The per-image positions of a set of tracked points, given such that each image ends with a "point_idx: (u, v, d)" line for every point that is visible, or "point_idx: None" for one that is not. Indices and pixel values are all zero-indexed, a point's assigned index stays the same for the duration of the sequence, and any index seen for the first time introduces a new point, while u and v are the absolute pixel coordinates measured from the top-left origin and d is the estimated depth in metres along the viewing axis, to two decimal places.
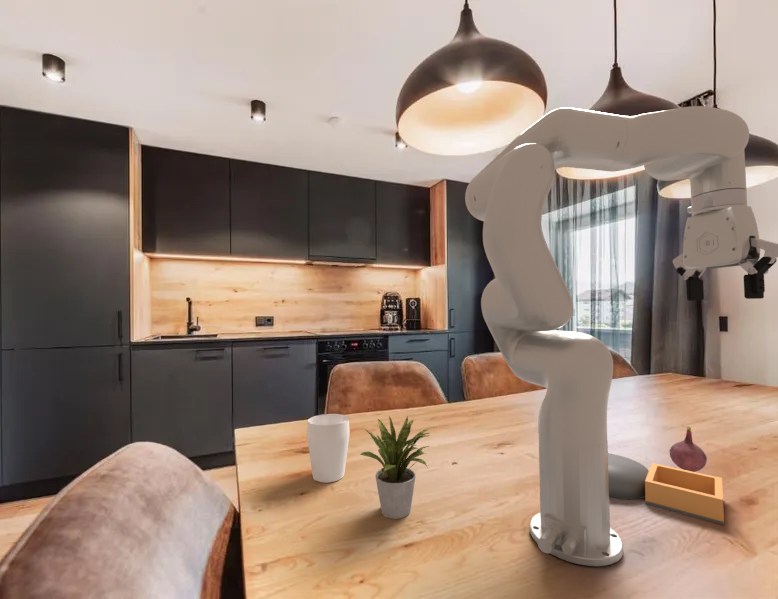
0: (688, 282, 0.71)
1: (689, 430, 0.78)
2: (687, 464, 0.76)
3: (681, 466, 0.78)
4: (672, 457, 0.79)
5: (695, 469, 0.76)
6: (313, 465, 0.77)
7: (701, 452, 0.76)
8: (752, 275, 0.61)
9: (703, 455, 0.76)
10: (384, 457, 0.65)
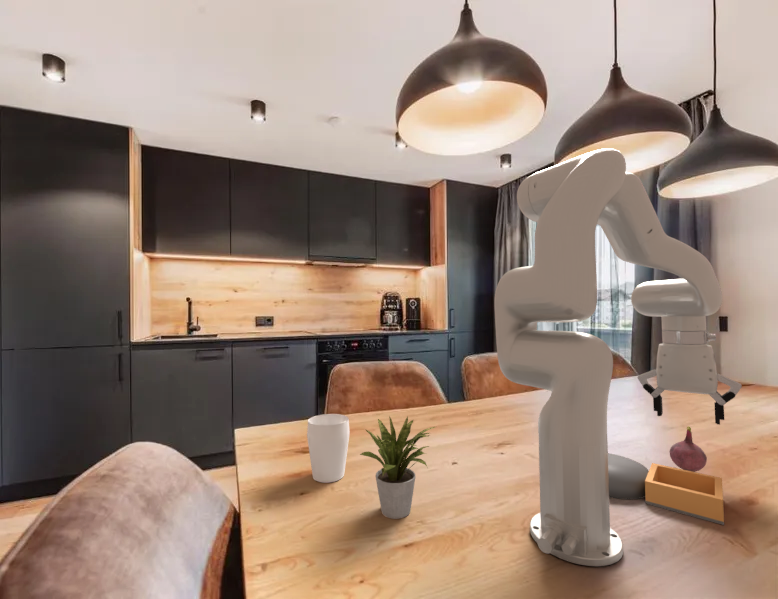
0: None
1: (689, 430, 0.78)
2: (687, 464, 0.76)
3: (681, 466, 0.78)
4: (672, 457, 0.79)
5: (695, 469, 0.76)
6: (313, 465, 0.77)
7: (701, 452, 0.76)
8: None
9: (703, 455, 0.76)
10: (384, 457, 0.65)
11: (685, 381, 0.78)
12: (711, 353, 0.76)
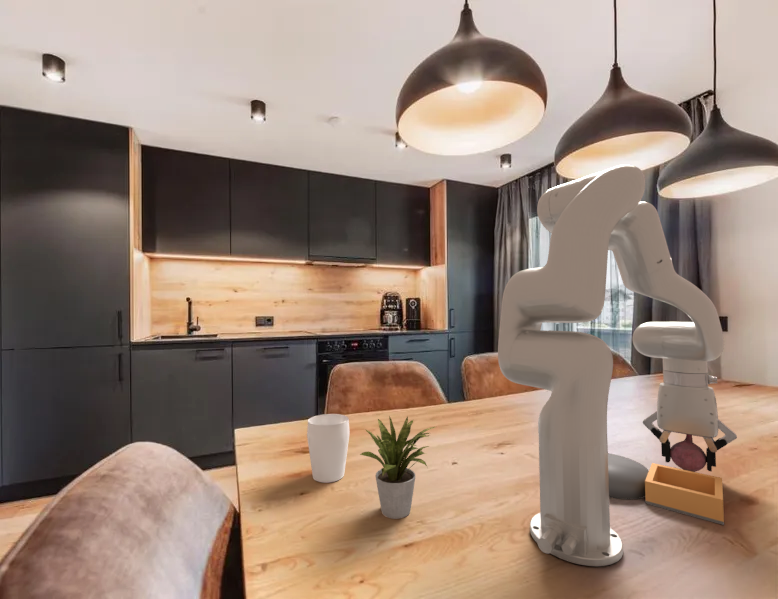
0: None
1: None
2: (688, 464, 0.76)
3: (681, 466, 0.78)
4: (672, 457, 0.79)
5: (695, 469, 0.76)
6: (313, 465, 0.77)
7: (701, 452, 0.76)
8: None
9: (703, 455, 0.76)
10: (384, 457, 0.65)
11: (686, 423, 0.77)
12: (712, 396, 0.75)
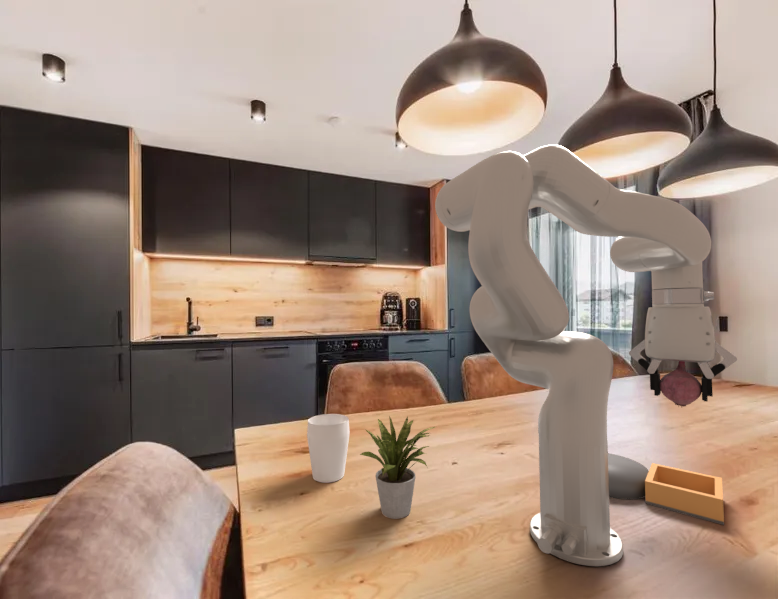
0: None
1: None
2: (680, 394, 0.66)
3: (672, 397, 0.67)
4: (662, 389, 0.68)
5: (688, 400, 0.66)
6: (313, 465, 0.77)
7: (696, 380, 0.66)
8: None
9: (698, 383, 0.65)
10: (384, 457, 0.65)
11: (678, 348, 0.66)
12: (708, 314, 0.64)
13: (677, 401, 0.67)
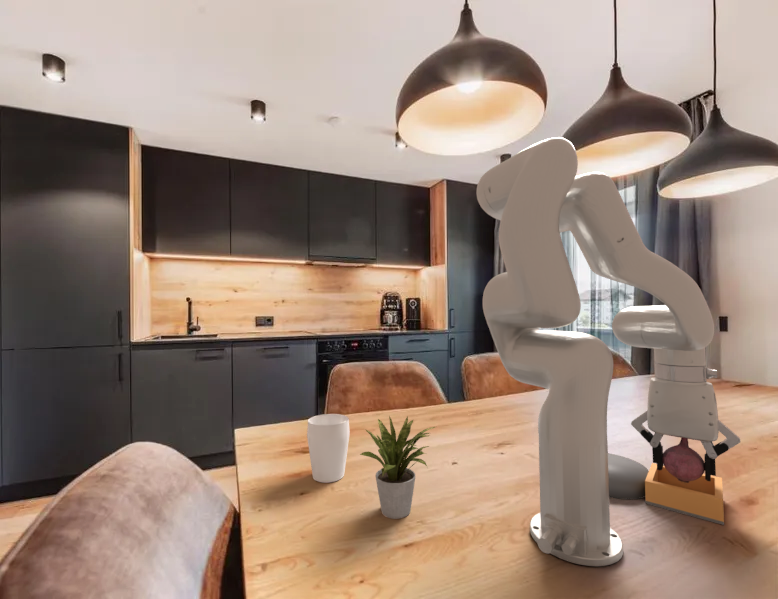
0: None
1: None
2: (683, 473, 0.65)
3: (675, 474, 0.66)
4: (665, 464, 0.68)
5: (691, 478, 0.65)
6: (313, 465, 0.77)
7: (699, 458, 0.65)
8: None
9: (701, 462, 0.65)
10: (384, 457, 0.65)
11: (681, 425, 0.66)
12: (711, 393, 0.64)
13: (680, 478, 0.66)
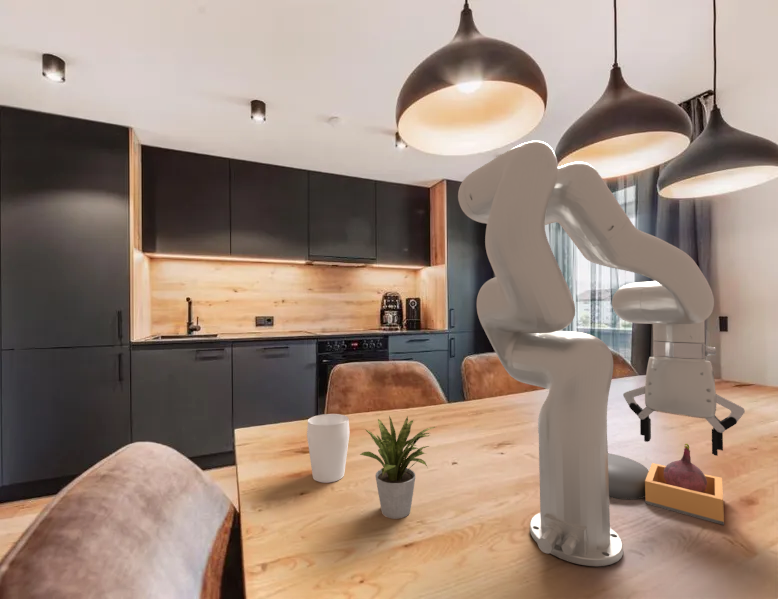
0: None
1: (687, 448, 0.67)
2: None
3: None
4: (666, 479, 0.68)
5: None
6: (313, 465, 0.77)
7: (701, 475, 0.65)
8: None
9: (703, 478, 0.65)
10: (384, 457, 0.65)
11: (678, 402, 0.66)
12: (710, 370, 0.64)
13: None
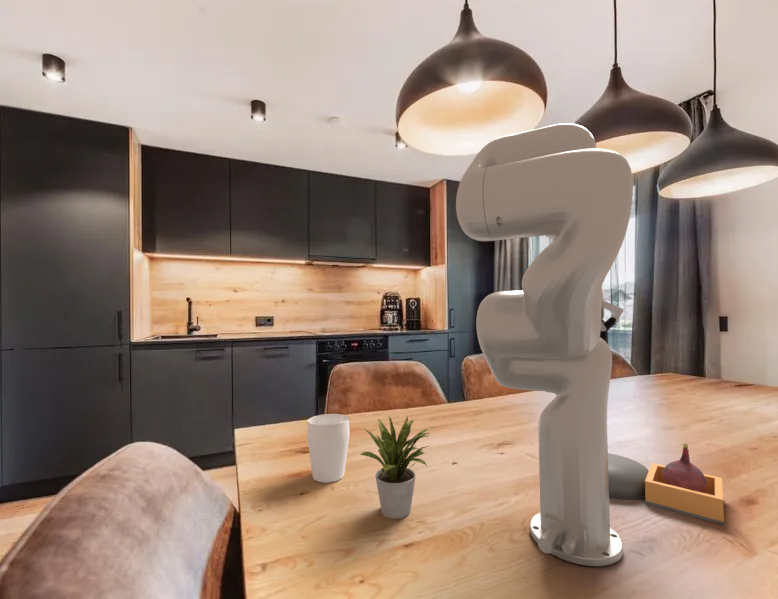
0: None
1: (686, 448, 0.67)
2: None
3: None
4: (666, 479, 0.68)
5: None
6: (313, 465, 0.77)
7: (700, 474, 0.65)
8: None
9: (702, 478, 0.65)
10: (384, 457, 0.65)
11: None
12: None
13: None
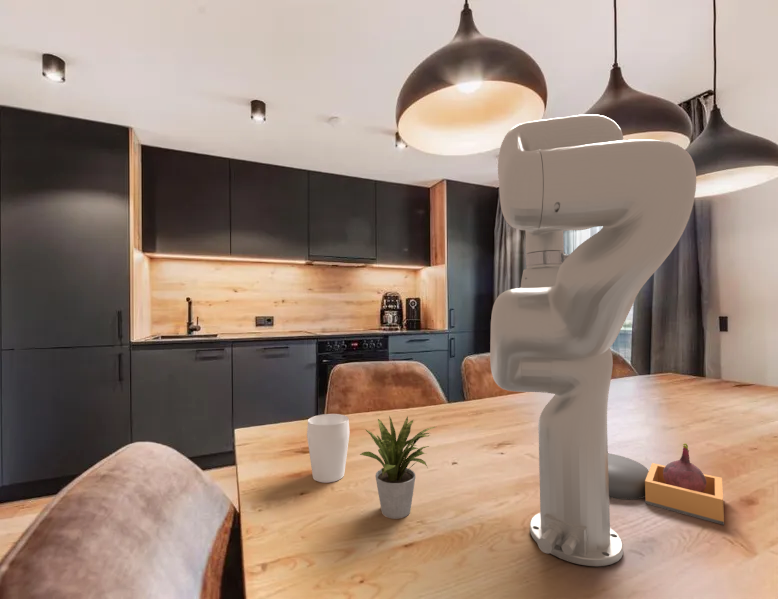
0: None
1: (686, 448, 0.67)
2: None
3: None
4: (666, 479, 0.68)
5: None
6: (313, 465, 0.77)
7: (700, 474, 0.65)
8: None
9: (702, 478, 0.65)
10: (384, 457, 0.65)
11: None
12: None
13: None
